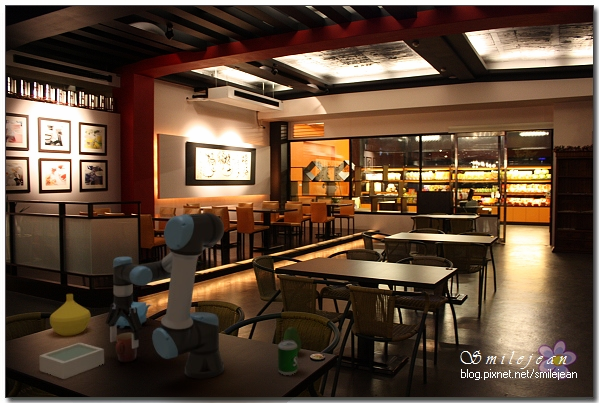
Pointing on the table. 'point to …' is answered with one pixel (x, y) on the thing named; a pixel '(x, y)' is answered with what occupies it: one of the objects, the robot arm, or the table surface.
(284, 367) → the soda can
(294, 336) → the fruit
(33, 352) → the table surface
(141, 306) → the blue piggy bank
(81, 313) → the vase
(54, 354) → the rectangular box
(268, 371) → the table surface
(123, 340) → the mug
